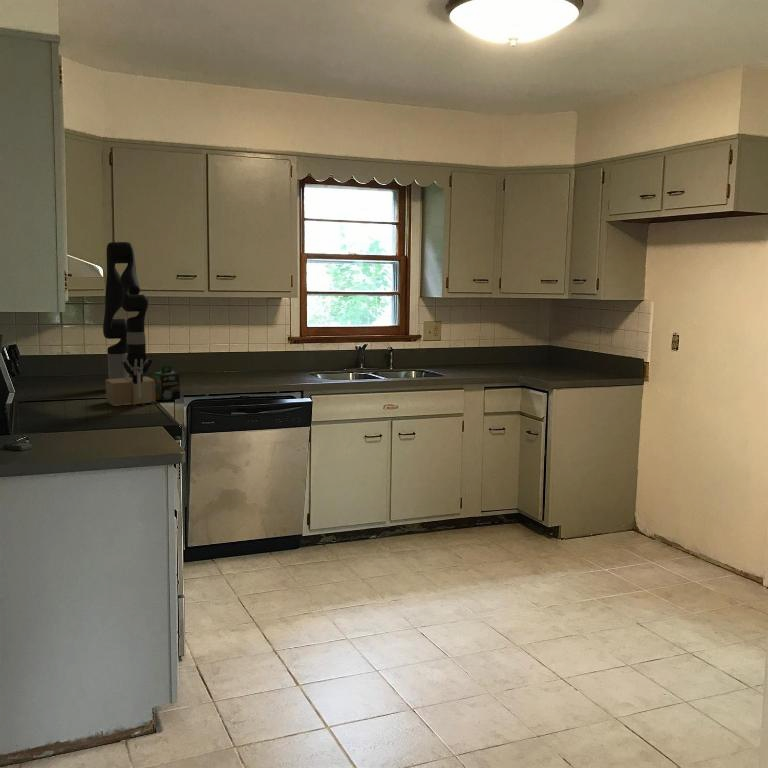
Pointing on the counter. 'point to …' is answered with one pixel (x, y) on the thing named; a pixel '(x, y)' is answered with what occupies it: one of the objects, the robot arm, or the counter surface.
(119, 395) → the carton
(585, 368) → the counter surface
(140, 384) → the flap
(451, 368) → the counter surface
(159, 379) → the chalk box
